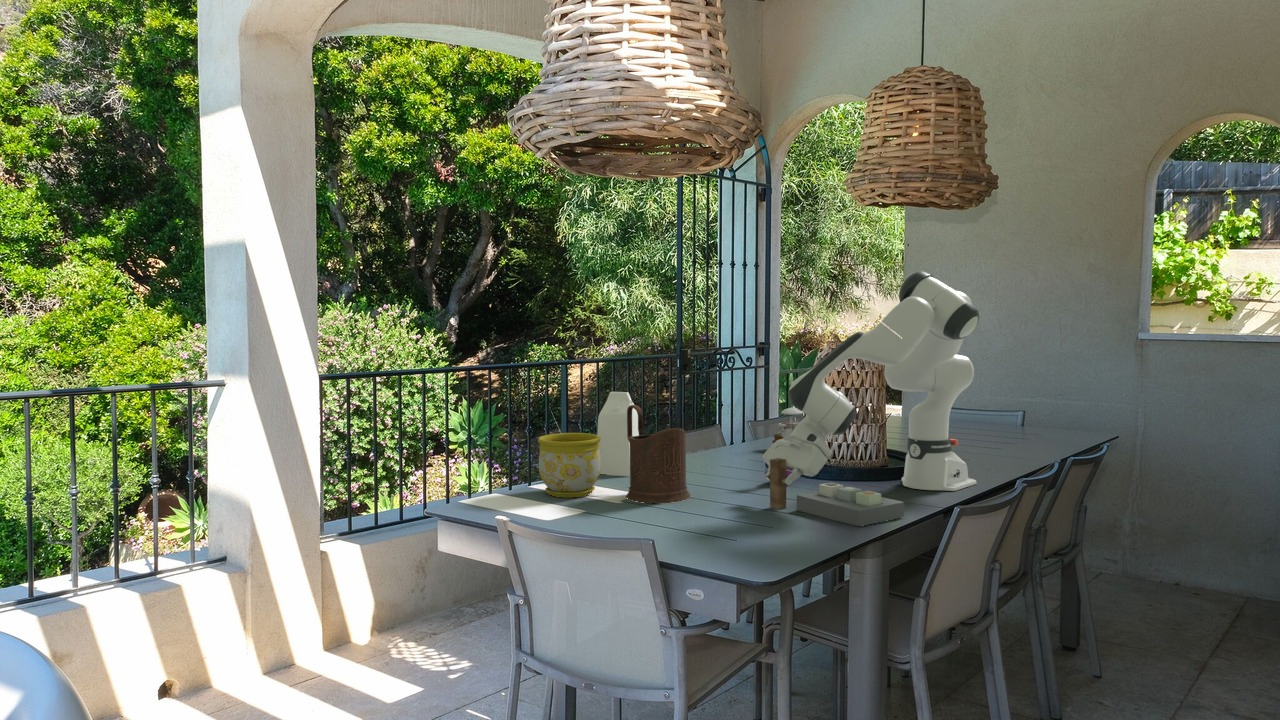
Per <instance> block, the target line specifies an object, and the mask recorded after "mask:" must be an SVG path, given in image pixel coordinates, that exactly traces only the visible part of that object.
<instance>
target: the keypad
mask: <svg viewBox="0 0 1280 720" xmlns="http://www.w3.org/2000/svg"><path fill="white" fill-rule="evenodd" d="M796 511H799V512H803V513H806V514H809V515H814V516H817V517H820V518H824V519H827V520H828V519H829V520H832V521H835V520H836V522H839V521H840V522H839V523H843V522H844V523H843V524H846V523H848V524H847V525H850V524H853V525H852V526H854V525H857V526H862V525H867V524H872V523H876V522H881V523H884V522H883V521H886V520H891V519H896V518H900V519H902V518H901V517H904V518H905V501H901V500H897V499H892V498H888V497H887V498H886V497H882V496H881V504H879V505H874V506H865V505H861V504H857V503H856V501H851V502H849V501H845V500H841V499H837V496H835V497H828V496H824V495H820V494H819V490H818V491H814V492H808V493H807V492H806V493H802V494H796ZM896 520H897V519H896ZM891 521H892V520H891ZM886 522H887V521H886ZM876 524H877V523H876ZM872 525H873V524H872ZM857 526H856V527H857ZM867 526H868V525H867ZM862 527H863V526H862Z"/></svg>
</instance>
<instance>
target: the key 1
mask: <svg viewBox="0 0 1280 720" xmlns="http://www.w3.org/2000/svg"><path fill="white" fill-rule="evenodd" d="M838 488H844V485H843V484H840V483H835V482H827V483H821V484H818V491H819V494H820V495H824V496H828V497H835V496H837V489H838Z"/></svg>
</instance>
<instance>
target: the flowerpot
mask: <svg viewBox="0 0 1280 720" xmlns="http://www.w3.org/2000/svg"><path fill="white" fill-rule="evenodd" d="M600 440H601V438H600V436H598V435H597V434H594V433H588V432H587V433H586V432H585V433H584V432H562V433H561V432H560V433H553V434H546V435H541V436H539V437H538V438H537V442H538V444H539V456H538V471H539V474H540V478H541V480H542V482H543V483H544V485H545V486H546V487H545V491H546V492H547V493H548V495H549V496H550V495H552V496H551V497H553V496H555V498H559V497H563V499H574V498H573V497H576V498H582V497H581V496H584V497H586V496H585V495H587V496H589V495H588V494H590V493H591V494H593V491H594V490H596V487H595V486H594V485H595V484H596V482H597V481H598V479H599V476H600V474H599V473H600V466H601V462H600V453H599V447H600V446H599V442H600ZM591 494H590V495H591Z"/></svg>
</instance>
